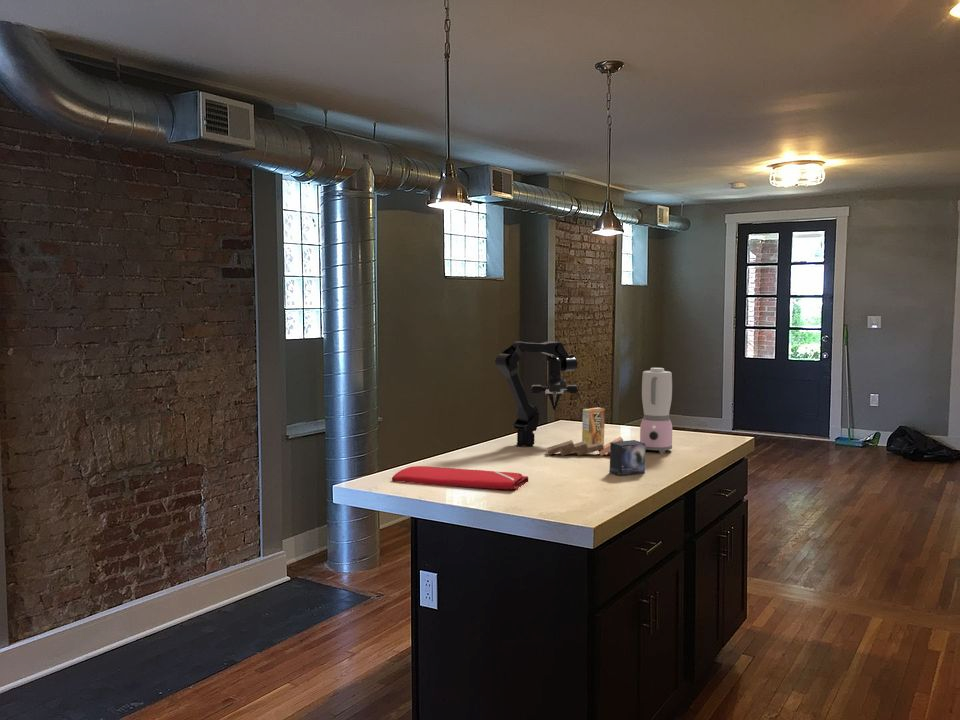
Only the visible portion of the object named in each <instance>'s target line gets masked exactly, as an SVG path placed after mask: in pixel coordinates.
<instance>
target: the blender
mask: <svg viewBox="0 0 960 720" xmlns="http://www.w3.org/2000/svg"><path fill="white" fill-rule="evenodd" d="M672 374H673V373H672V372H671V371H669V370H668V371H667V370H665V368H663V367H650V370H644V371H643V372H642V380H641V401H642V408H643V417H642V419H641V422H640V426H639V430H640V432H639V442H643V443H646V446H645V453H646V452H647V450H649V451H658V453H659V454H660V453H663V454H665V453H666V451H668V450H669V451H670V450H672V449H673V424H672V421H671V419H670V410H671V405H672V400H673V399H672V398H673V376H672Z"/></svg>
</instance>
